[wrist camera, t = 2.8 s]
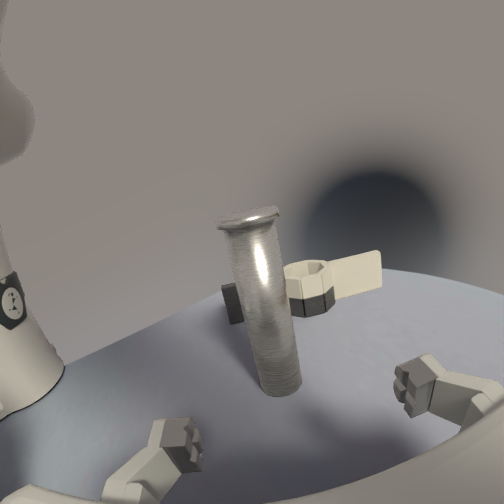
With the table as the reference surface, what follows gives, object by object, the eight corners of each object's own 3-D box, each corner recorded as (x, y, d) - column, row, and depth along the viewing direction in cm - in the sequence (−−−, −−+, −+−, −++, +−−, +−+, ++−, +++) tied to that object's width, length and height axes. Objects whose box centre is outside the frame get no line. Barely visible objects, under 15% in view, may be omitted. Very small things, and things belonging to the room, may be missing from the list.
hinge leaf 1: (230, 334, 34) (220, 297, 33) (230, 311, 40) (222, 278, 39) (340, 308, 35) (336, 271, 33) (325, 289, 41) (320, 256, 39)
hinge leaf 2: (290, 321, 34) (283, 283, 33) (281, 300, 41) (275, 267, 39) (391, 293, 35) (389, 257, 33) (370, 277, 41) (368, 245, 40)
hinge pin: (259, 404, 22) (212, 224, 18) (255, 373, 26) (216, 215, 22) (311, 392, 22) (282, 209, 18) (300, 363, 26) (272, 203, 22)
